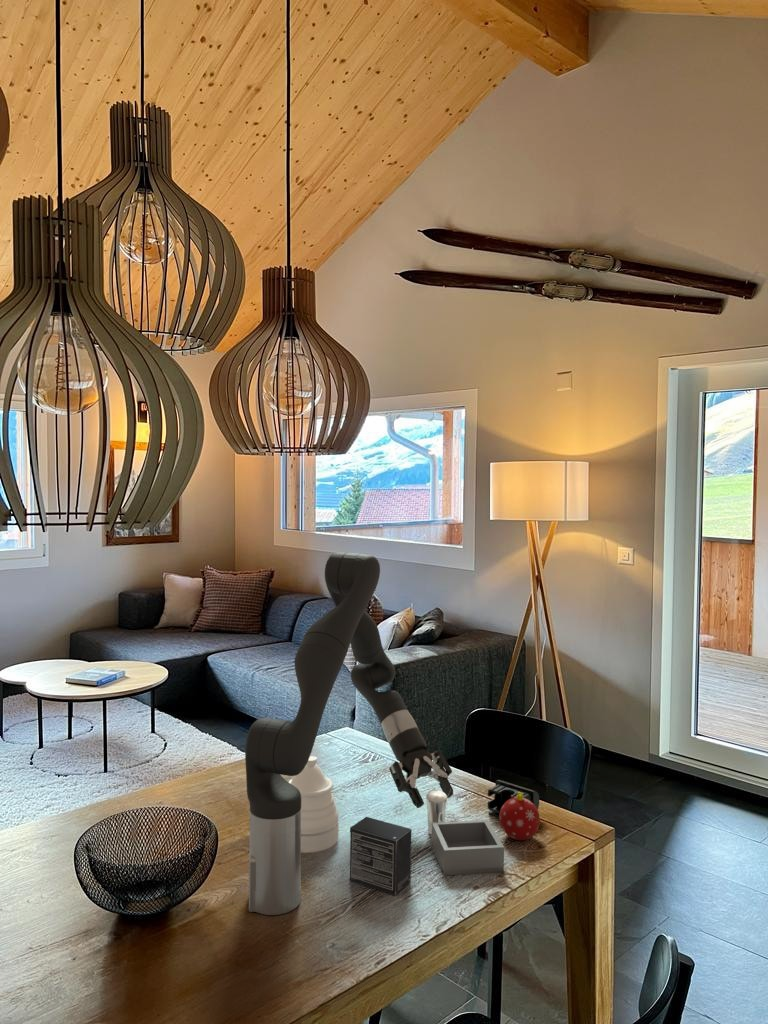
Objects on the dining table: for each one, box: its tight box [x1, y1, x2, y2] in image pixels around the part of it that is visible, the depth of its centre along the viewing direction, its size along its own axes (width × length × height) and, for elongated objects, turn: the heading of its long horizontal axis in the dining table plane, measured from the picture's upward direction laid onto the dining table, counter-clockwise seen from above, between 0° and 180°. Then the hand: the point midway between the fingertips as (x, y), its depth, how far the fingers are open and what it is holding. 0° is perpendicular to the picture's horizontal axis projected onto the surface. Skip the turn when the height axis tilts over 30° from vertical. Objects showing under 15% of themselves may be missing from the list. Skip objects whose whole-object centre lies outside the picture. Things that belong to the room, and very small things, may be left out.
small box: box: [348, 816, 412, 896], centre depth 147 cm, size 11×6×10 cm, turn 59°
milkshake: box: [425, 789, 451, 836], centre depth 167 cm, size 4×5×10 cm
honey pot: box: [287, 755, 340, 854], centre depth 163 cm, size 13×13×18 cm
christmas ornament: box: [498, 792, 541, 841], centre depth 165 cm, size 9×9×10 cm
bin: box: [431, 819, 505, 876], centre depth 156 cm, size 12×12×5 cm
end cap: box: [487, 779, 540, 819], centre depth 176 cm, size 10×7×7 cm
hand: (435, 801), depth 167 cm, fingers open, 8 cm apart
